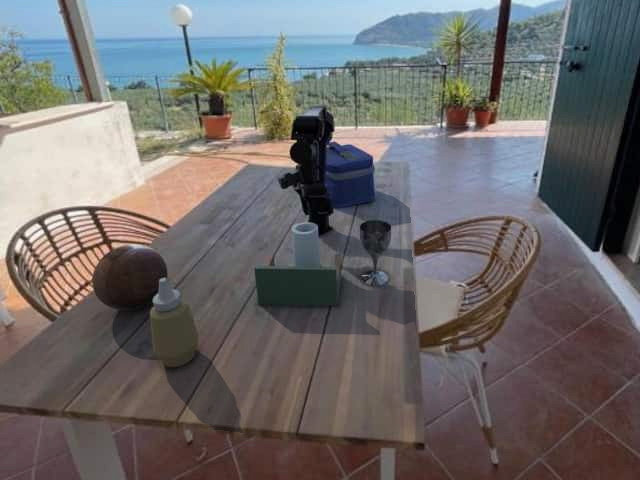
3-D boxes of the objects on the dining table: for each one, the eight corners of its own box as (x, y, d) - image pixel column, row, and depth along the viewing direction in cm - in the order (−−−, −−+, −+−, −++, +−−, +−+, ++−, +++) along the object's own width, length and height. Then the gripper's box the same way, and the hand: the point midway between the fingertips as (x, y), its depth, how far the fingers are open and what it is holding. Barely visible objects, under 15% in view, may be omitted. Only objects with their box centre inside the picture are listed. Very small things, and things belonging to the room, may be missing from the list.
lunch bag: (305, 185, 170) (303, 139, 162) (349, 178, 178) (349, 134, 171) (331, 210, 144) (330, 157, 136) (381, 201, 152) (382, 150, 145)
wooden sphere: (185, 289, 98) (175, 236, 93) (143, 328, 85) (127, 269, 79) (134, 282, 101) (121, 230, 96) (85, 319, 87) (66, 262, 82)
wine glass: (368, 289, 98) (369, 236, 92) (354, 274, 104) (354, 224, 99) (395, 281, 101) (397, 229, 96) (380, 266, 108) (381, 217, 102)
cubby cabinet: (270, 274, 104) (267, 241, 101) (342, 275, 104) (341, 242, 100) (257, 304, 92) (253, 268, 89) (337, 306, 92) (336, 269, 88)
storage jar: (307, 261, 111) (304, 220, 106) (324, 269, 107) (323, 226, 102) (289, 271, 106) (286, 228, 101) (307, 280, 102) (304, 236, 97)
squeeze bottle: (166, 343, 80) (149, 268, 74) (206, 340, 81) (192, 266, 75) (150, 374, 73) (129, 294, 66) (194, 371, 74) (177, 291, 67)
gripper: (274, 159, 113) (275, 211, 116) (284, 164, 96) (285, 226, 98) (311, 158, 117) (312, 209, 119) (328, 163, 99) (328, 223, 102)
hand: (309, 216), depth 110 cm, fingers open, 9 cm apart
